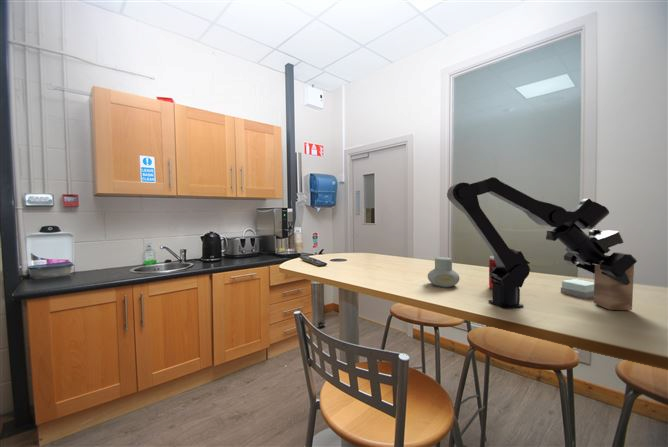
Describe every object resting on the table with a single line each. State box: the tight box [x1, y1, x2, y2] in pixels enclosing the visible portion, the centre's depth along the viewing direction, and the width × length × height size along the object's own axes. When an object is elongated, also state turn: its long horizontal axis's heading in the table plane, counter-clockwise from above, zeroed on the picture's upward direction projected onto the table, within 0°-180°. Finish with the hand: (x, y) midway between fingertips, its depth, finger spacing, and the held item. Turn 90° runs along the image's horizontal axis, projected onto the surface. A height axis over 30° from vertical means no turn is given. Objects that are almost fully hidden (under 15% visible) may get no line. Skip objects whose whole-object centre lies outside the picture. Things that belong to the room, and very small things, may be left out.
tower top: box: [561, 278, 594, 293], centre depth 93 cm, size 7×7×2 cm
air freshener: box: [427, 256, 460, 288], centre depth 106 cm, size 11×8×10 cm
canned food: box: [488, 255, 497, 291], centre depth 100 cm, size 8×8×11 cm
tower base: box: [560, 286, 594, 299], centre depth 93 cm, size 7×7×2 cm
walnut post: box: [593, 263, 635, 311], centre depth 80 cm, size 6×6×13 cm
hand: (618, 281), depth 80 cm, fingers closed on walnut post, 5 cm apart
